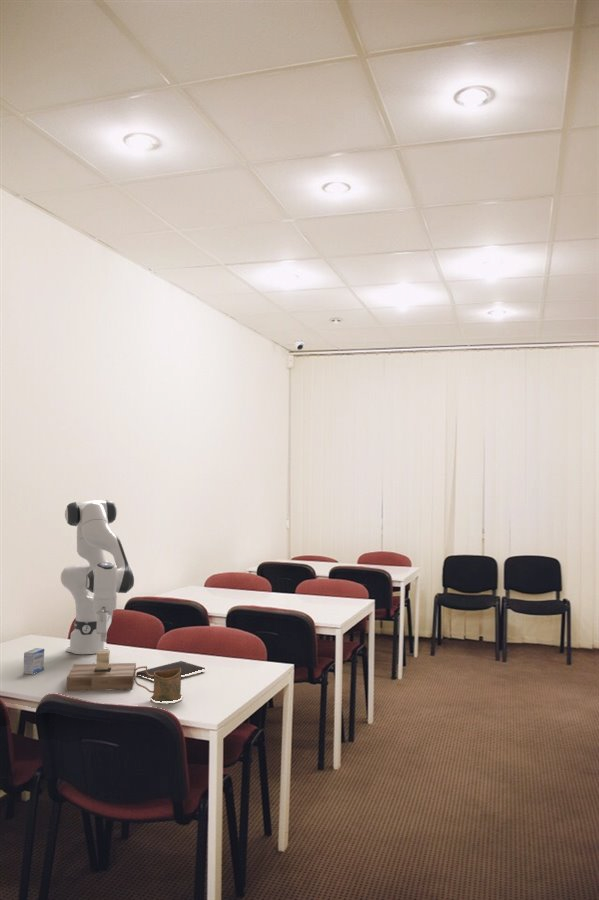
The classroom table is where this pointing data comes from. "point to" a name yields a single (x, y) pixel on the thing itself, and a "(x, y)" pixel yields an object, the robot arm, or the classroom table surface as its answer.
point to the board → (101, 677)
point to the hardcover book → (184, 666)
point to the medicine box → (34, 661)
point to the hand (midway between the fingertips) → (103, 640)
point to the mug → (165, 684)
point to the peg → (102, 661)
